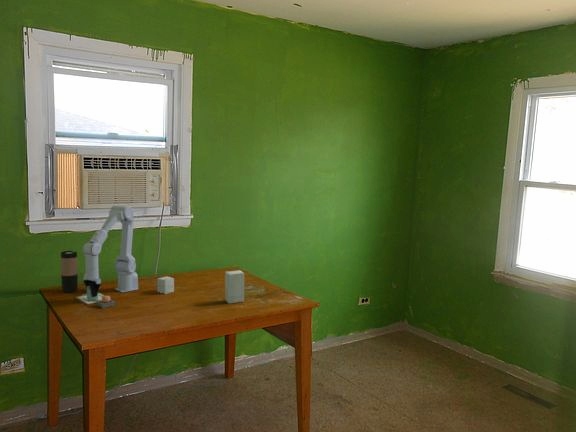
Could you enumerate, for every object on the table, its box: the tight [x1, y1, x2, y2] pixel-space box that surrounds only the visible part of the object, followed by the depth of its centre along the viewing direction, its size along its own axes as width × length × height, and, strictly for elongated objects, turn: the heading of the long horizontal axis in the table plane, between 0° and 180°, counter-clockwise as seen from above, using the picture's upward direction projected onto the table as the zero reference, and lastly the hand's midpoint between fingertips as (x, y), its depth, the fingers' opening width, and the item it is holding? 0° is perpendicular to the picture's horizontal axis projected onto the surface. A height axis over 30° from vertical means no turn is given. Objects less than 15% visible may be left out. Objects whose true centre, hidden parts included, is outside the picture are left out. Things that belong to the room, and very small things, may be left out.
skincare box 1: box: [157, 276, 175, 295], centre depth 251 cm, size 6×6×7 cm
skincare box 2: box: [224, 269, 245, 304], centre depth 238 cm, size 8×6×15 cm
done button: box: [102, 295, 111, 303], centre depth 226 cm, size 4×4×3 cm
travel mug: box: [60, 250, 79, 294], centre depth 247 cm, size 8×8×20 cm
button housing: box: [96, 298, 116, 309], centre depth 226 cm, size 6×6×2 cm
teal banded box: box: [86, 286, 98, 300], centre depth 232 cm, size 4×4×6 cm
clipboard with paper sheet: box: [74, 292, 114, 306], centre depth 235 cm, size 12×15×1 cm
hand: (92, 295), depth 232 cm, fingers closed on teal banded box, 4 cm apart
